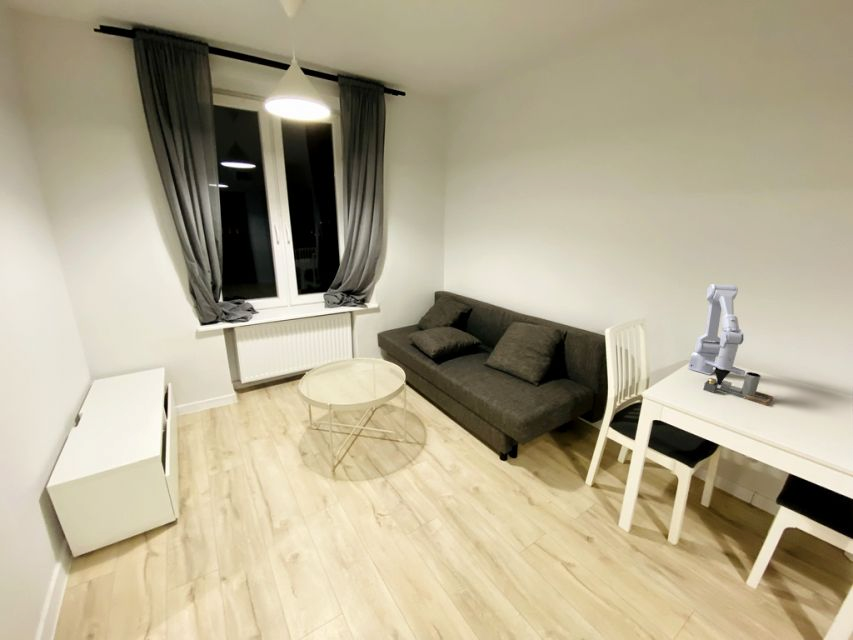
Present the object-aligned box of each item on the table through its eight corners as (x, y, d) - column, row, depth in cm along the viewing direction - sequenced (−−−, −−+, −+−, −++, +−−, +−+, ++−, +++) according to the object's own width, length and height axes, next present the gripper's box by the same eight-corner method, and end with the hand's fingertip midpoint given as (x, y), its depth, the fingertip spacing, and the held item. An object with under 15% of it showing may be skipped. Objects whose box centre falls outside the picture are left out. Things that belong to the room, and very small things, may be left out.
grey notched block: (719, 389, 160) (721, 383, 159) (722, 386, 162) (723, 380, 161) (739, 394, 155) (741, 388, 154) (741, 391, 157) (743, 385, 156)
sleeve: (704, 386, 162) (705, 384, 162) (710, 381, 167) (711, 379, 167) (743, 398, 152) (743, 396, 152) (748, 392, 156) (748, 391, 156)
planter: (754, 395, 154) (760, 373, 151) (754, 399, 151) (761, 377, 148) (740, 392, 157) (746, 371, 154) (740, 396, 154) (746, 374, 150)
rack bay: (744, 398, 151) (745, 395, 151) (749, 392, 156) (750, 389, 156) (767, 405, 146) (768, 402, 145) (771, 399, 151) (773, 396, 150)
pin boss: (703, 389, 159) (705, 382, 158) (706, 386, 162) (708, 379, 161) (713, 393, 156) (715, 386, 155) (717, 389, 159) (718, 383, 158)
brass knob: (705, 388, 159) (707, 379, 157) (707, 386, 160) (709, 377, 159) (712, 390, 157) (715, 381, 155) (715, 389, 158) (717, 379, 157)
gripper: (703, 353, 160) (697, 380, 164) (744, 364, 149) (736, 392, 153) (709, 350, 164) (702, 376, 168) (749, 360, 153) (741, 388, 157)
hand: (719, 384), depth 161 cm, fingers closed
